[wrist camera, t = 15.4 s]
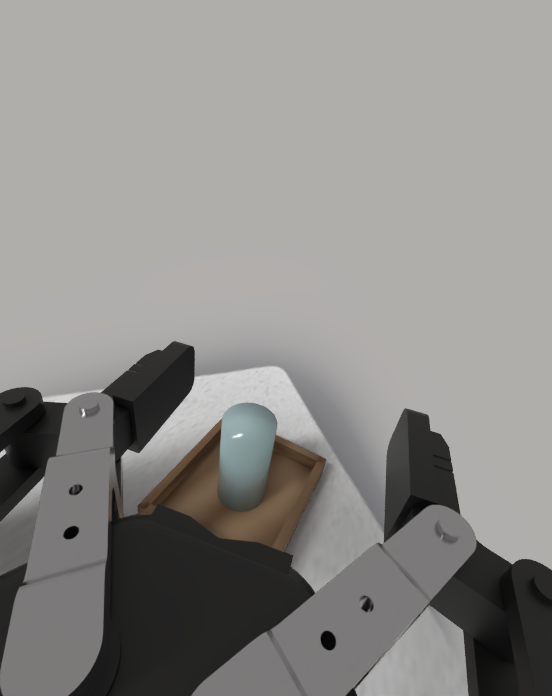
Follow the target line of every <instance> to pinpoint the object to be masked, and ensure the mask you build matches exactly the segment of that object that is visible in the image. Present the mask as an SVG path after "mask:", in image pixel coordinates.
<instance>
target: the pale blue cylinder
mask: <svg viewBox="0 0 552 696" xmlns="http://www.w3.org/2000/svg"><path fill="white" fill-rule="evenodd" d="M276 430H277V420H276V417H275V416H274V414H273V413H272V412H271V411H270V410H269V409H267V408H266V407H264V406H261V405H259V404H254V403H241V404H237V405H234V406H232V407H231V408H229V409H228V410H227V411H226V412H225V413H224V415H223V417H222V427H221V442H220V457H219V472H218V487H217V493H218V497H219V500H220V501H221V503H222V504H223V505H224V506H225V507H227V508H228V509H230V510H232V511H236V512H246V511H250V510H252V509H254V508H256V507H257V506H258V505H259V504H260V503H261V502H262V500H263V498H264V494H265V489H266V483H267V478H268V473H269V467H270V462H271V456H272V451H273V446H274V440H275V435H276Z"/></svg>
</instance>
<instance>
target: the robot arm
mask: <svg viewBox="0 0 552 696" xmlns="http://www.w3.org/2000/svg"><path fill="white" fill-rule="evenodd" d="M194 356H195V351H194V347H193V346H190V345H186V344H183V343H179V342H176V341H174V342H172V343H171V344H170V345H168V346H167V347H166V348H165V349H164V350H163V351H161V350H157V351H154V352H152V353H149V354H147V355H145V356H144V357H143V358H141V359H140V360H139V361H138V362H137V363H136V365H135V364H134V365H133V366H132V367H131V368H130V369H129V371H126V372H125V373H124V374H123V375H121V376H120V377H119V378H118V379H117V380H115V381H114V382H113V383H112V384H111V385H110V386H108V387H107V388H106V389H105V390H103V391H102V392H101V393H96V392H94V393H86V394H82V395H80V396H77V397H75V398H74V399H72V400H71V401H70V402H68V403H55V402H43V399H42V396H41V393H40V392H39V391H38V390H36V389H34V388H28V387H22V388H15V389H10V390H7V391H5V392H2V393H0V452H1V451H2V450H3V449H5V451H6V454H5V455H4V456H3V457H1V458H0V521H1V520H2V519H3V518H4V517H5V516H6V515H7V514H8V513H9V512H10V511H11V510H12V509H13V508H14V507H15V506H16V505H17V504H18V503H19V502H20V501H21V500H22V499H23V498H24V497H25V496H26V495H27V494H28V493H29V492H30V490H31V489H32V488H33V487H34V486H35V485H36V484H37V483H38V482H39V481H40V480H41V479H42V478H43V477H44V476H45V477H44V482H43V487H42V492H41V497H40V502H39V508H38V513H37V518H36V523H35V528H34V533H33V539H32V544H31V549H30V554H29V559H28V562H27V563H25V564H23V565H21V566H19V567H17V568H15V569H13V570H11V571H9V572H7V573H5V574H3V575H1V576H0V696H357V694H356V691H355V689H356V688H357V687H358V686H359V685H360V684H361V682H362V681H363V680H364V679H365V678H366V677H367V676H368V674H369V673H370V672H371V671H372V670H373V669H374V668H375V666H376V665H377V664H378V663H379V662H380V661H381V659H382V658H383V657H384V656H385V655H386V654H387V653H388V651H389V650H390V649H391V648H392V647H393V646H394V644H395V643H396V642H397V641H398V640H399V639H400V638H401V637H402V635H403V634H404V633H405V632H406V631H407V630H408V629H409V627H410V626H411V625H412V624H413V623H414V622H415V621H416V620H417V618H418V617H419V616H420V615H421V614H422V613H423V612H424V610H425V609H426V608H427V607H428V606H429V605H430V606H432V607H433V608H434V609H436V610H437V611H438V612H440V613H441V614H442V615H444V616H445V617H446V618H448V619H449V620H450V621H452V622H453V623H454V624H456V625H457V626H458V627H460V628H461V629H462V630H463V632H464V644H465V656H466V668H467V681H468V693H469V696H552V570H550V569H549V568H548V567H546V566H544V565H543V564H541V563H538V562H536V561H533V560H529V559H521V560H518V561H516V562H515V563H514V564H511V563H509V562H508V561H506V560H505V559H503V558H501V557H500V556H498V555H497V554H495V553H494V552H492V551H490V550H489V549H487V548H486V547H484V546H483V545H482V544H481V543H479V542H478V541H477V540H476V537H475V534H474V532H473V530H472V528H471V527H470V525H469V523H468V522H467V521H466V520H465V519H464V518H463V517H462V516H461V515H460V510H459V504H458V498H457V492H456V486H455V480H454V474H453V473H452V472H453V468H452V463H451V457H450V451H449V447H448V445H447V444H446V442H445V440H444V439H443V437H442V436H441V434H438V433H435V432H432V431H430V424H429V416H428V415H427V414H423V413H420V412H416V411H413V410H409V409H404V411H403V413H402V415H401V417H400V419H399V421H398V424H397V426H396V428H395V431H394V433H393V435H392V438H391V440H390V443H389V446H388V451H387V467H386V496H385V527H384V542H385V543H384V544H382V545H381V544H380V543H377V544H375V545H373V546H372V547H371V548H369V549H368V550H367V551H366V552H365V553H363V554H362V555H361V556H360V557H359V558H357V559H356V560H355V561H354V562H353V563H351V564H350V565H349V566H348V567H347V568H345V569H344V570H343V571H342V572H341V573H339V574H338V575H337V576H336V577H335V578H333V579H332V580H331V581H330V582H329V583H327V584H326V585H325V586H324V587H323V588H321V589H320V590H319V591H318V592H317V593H315V592H314V590H313V589H312V587H311V586H310V585H309V584H308V583H307V581H306V580H305V579H304V578H303V577H302V576H301V575H300V574H299V573H298V572H296V571H295V570H294V569H292V568H291V567H290V566H291V562H292V558H293V555H290V554H288V553H285V552H282V551H280V550H277V549H275V548H272V547H269V546H267V545H264V544H262V543H259V542H251V541H242V540H232V539H223V538H219V537H217V536H215V535H214V534H213V533H211V532H210V531H209V530H208V529H206V528H205V527H204V526H202V525H201V524H200V523H198V522H197V521H196V520H194V519H193V518H192V517H190V516H188V515H186V514H183V513H181V512H178V511H175V510H173V509H170V508H167V507H165V506H162V505H160V504H158V505H157V506H156V508H155V510H154V511H153V513H152V514H136V515H130V516H126V517H124V513H123V472H122V455H123V454H124V453H125V452H126V450H127V449H129V450H131V451H134V452H137V453H140V452H141V450H142V449H143V448H144V447H145V446H146V444H147V443H148V442H149V441H150V439H151V438H152V437H153V436H154V435H155V433H156V432H157V431H158V430H159V429H160V427H161V426H162V425H163V424H164V423H165V421H166V420H167V419H168V418H169V417H170V415H171V414H172V413H173V412H174V411H175V409H176V408H177V407H178V406H179V405H180V403H181V402H182V401H183V400H184V399H185V397H186V396H187V395H188V394H189V392H190V391H191V389H192V386H193V383H194V362H195V359H194V358H195V357H194Z"/></svg>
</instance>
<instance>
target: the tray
mask: <svg viewBox="0 0 552 696" xmlns="http://www.w3.org/2000/svg"><path fill="white" fill-rule="evenodd" d="M221 427H222V419H221V420H220V421H219V422H218V423H217V424H216V425H215V426H214V427H213V428H212V429H211V430H210V431H209V432H208V433H207V435H206V436H205V437H204V438H203V439H202V440H201V441H200V442H199V443H198V444H197V445H196V446H195V447H194V448H193V449H192V450H191V451H190V452H189V453H188V454H187V455H186V456H185V457H184V458H183V459H182V461H181V462H180V463H179V464H178V465H177V466H176V467H175V468H174V469H173V470H172V471H171V472H170V473H169V474H168V475H167V476H166V477H165V478H164V479H163V480H162V481H161V482H160V483H159V484H158V485H157V487H156V488H155V489H154V490H153V491H152V492H151V493H150V494H149V495H148V496H147V497H146V498H145V499H144V500H143V501H142V502H141V503H140V504H139V505H138V513H139V514H152V513H153V511H154V510H155V508H156V506H157V505H158V504H160V505H162V506H165V507H167V508H170V509H173V510H175V511H178V512H181V513H183V514H186V515H188V516H190V517H192V518H193V519H194V520H196V521H197V522H198V523H200V524H201V525H202V526H204V527H205V528H206V529H208V530H209V531H210V532H211V533H213V534H214V535H215V536H217V537H219V538H223V539H232V540H242V541H251V542H259V543H262V544H264V545H267V546H269V547H272V548H275V549H277V550H280V551H282V552H284V551H285V549H286V547H287V545H288V543H289V541H290V539H291V537H292V534H293V532H294V530H295V528H296V526H297V524H298V522H299V520H300V518H301V516H302V514H303V512H304V510H305V507H306V505H307V503H308V501H309V499H310V497H311V495H312V493H313V491H314V489H315V487H316V485H317V483H318V480H319V478H320V476H321V474H322V472H323V468H324V465H325V462H326V459H325V458H323V457H321V456H319V455H316V454H314V453H312V452H310V451H308V450H306V449H304V448H302V447H300V446H298V445H295V444H293V443H291V442H289V441H287V440H285V439H283V438H281V437H279V436H277V435H275V440H274V446H273V451H272V456H271V462H270V467H269V473H268V478H267V483H266V489H265V494H264V498H263V500H262V502H261V503H260V504H259V505H258V506H257V507H256V508H254V509H252V510H250V511H246V512H236V511H232V510H230V509H228V508H227V507H225V506H224V505H223V504H222V503H221V501H220V500H219V497H218V493H217V487H218V472H219V457H220V442H221Z"/></svg>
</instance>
